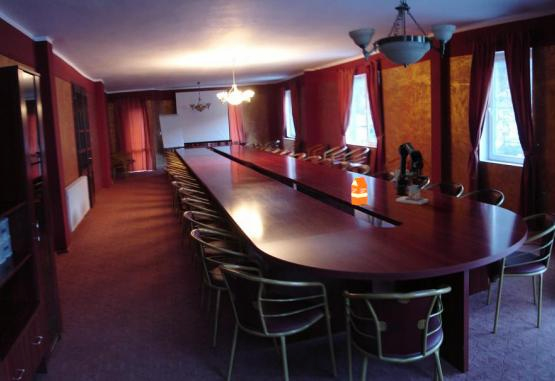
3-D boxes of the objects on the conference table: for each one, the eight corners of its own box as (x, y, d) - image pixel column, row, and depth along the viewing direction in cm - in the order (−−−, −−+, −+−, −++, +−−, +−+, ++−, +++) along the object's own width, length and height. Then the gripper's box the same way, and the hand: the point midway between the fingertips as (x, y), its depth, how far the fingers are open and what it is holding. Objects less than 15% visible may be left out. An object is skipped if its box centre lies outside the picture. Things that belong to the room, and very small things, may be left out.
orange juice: (351, 204, 358) (351, 177, 354) (360, 202, 362) (360, 176, 358) (358, 205, 351) (357, 178, 347) (367, 204, 355) (367, 177, 351)
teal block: (408, 192, 355) (408, 186, 354) (412, 191, 359) (412, 184, 358) (416, 193, 351) (416, 186, 350) (420, 192, 355) (420, 185, 354)
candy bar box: (408, 188, 409) (409, 169, 406) (407, 189, 405) (407, 170, 402) (395, 188, 415) (395, 169, 412) (394, 189, 410) (394, 170, 407)
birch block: (408, 199, 356) (408, 192, 355) (412, 198, 360) (412, 191, 359) (416, 200, 352) (416, 193, 351) (420, 198, 356) (420, 192, 355)
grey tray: (395, 201, 360) (395, 197, 359) (403, 198, 368) (403, 195, 368) (420, 204, 346) (420, 200, 346) (428, 201, 355) (428, 197, 354)
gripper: (397, 168, 352) (397, 189, 355) (421, 169, 339) (421, 191, 342) (405, 166, 360) (405, 186, 363) (428, 168, 347) (428, 189, 350)
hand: (414, 188), depth 354 cm, fingers open, 7 cm apart
